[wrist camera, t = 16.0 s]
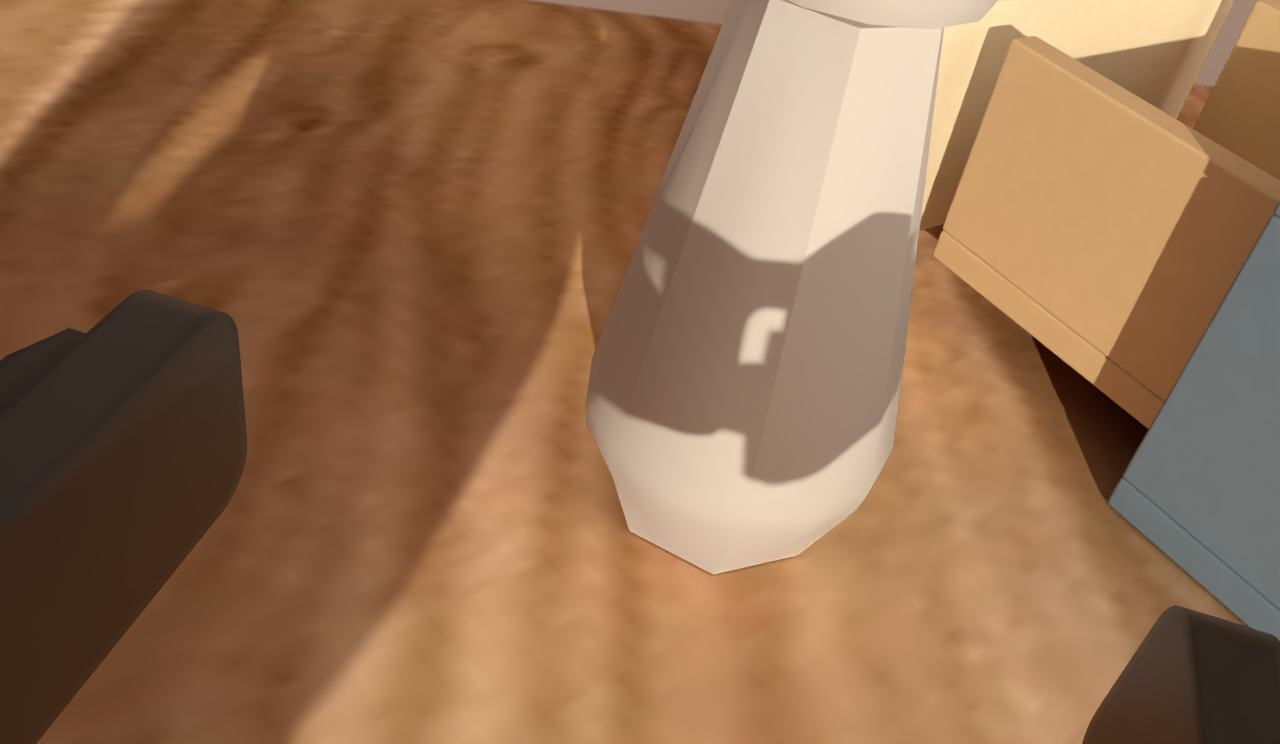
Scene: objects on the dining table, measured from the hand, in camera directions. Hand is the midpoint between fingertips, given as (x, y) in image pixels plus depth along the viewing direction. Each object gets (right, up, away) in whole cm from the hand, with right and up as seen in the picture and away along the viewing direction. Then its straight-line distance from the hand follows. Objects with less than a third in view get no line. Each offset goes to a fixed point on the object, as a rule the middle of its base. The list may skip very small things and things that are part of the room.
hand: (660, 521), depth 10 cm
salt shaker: (+1, -1, +14) cm, 14 cm away
